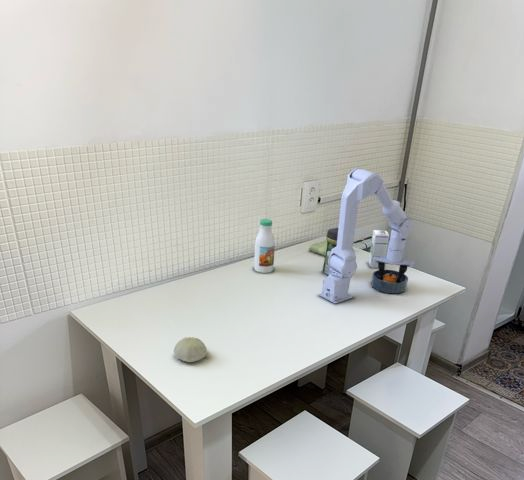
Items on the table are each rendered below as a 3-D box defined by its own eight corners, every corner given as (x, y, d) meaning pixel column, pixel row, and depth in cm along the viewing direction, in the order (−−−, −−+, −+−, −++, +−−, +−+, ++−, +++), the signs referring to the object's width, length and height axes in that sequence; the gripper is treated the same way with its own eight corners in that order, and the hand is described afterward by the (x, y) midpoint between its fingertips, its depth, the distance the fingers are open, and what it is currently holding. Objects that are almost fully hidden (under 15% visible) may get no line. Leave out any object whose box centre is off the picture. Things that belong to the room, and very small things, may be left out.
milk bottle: (251, 271, 193) (253, 221, 183) (257, 264, 200) (259, 216, 189) (270, 274, 192) (273, 224, 181) (275, 267, 198) (278, 218, 188)
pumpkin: (389, 290, 184) (392, 277, 181) (377, 284, 187) (380, 271, 185) (398, 286, 187) (401, 273, 184) (387, 281, 191) (389, 268, 188)
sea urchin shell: (207, 340, 143) (206, 333, 135) (206, 366, 141) (205, 360, 133) (176, 339, 142) (173, 332, 135) (174, 365, 141) (171, 360, 133)
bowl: (391, 297, 180) (393, 286, 177) (363, 284, 188) (365, 273, 186) (412, 289, 187) (415, 278, 185) (385, 277, 195) (387, 266, 193)
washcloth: (352, 250, 220) (354, 243, 219) (329, 259, 209) (330, 252, 207) (329, 242, 228) (330, 235, 226) (305, 251, 216) (306, 244, 214)
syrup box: (383, 268, 203) (390, 234, 196) (369, 267, 203) (375, 233, 196) (381, 263, 208) (387, 230, 200) (367, 262, 208) (373, 229, 200)
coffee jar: (335, 267, 202) (341, 223, 192) (349, 274, 196) (356, 228, 187) (318, 272, 197) (324, 226, 187) (332, 278, 191) (338, 232, 182)
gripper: (415, 247, 182) (408, 280, 189) (376, 242, 184) (370, 276, 191) (416, 253, 176) (408, 288, 183) (376, 248, 178) (369, 283, 185)
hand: (389, 282), depth 187 cm, fingers closed on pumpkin, 5 cm apart
